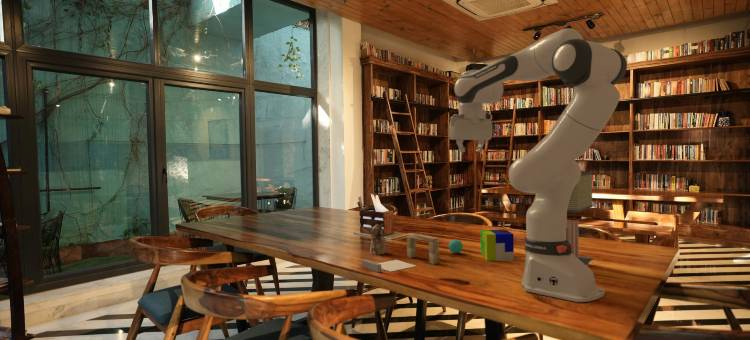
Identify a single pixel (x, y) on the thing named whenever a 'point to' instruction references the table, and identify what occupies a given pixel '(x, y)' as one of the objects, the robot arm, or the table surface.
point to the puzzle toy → (497, 245)
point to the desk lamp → (578, 203)
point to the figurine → (378, 240)
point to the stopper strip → (371, 265)
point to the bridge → (432, 246)
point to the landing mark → (395, 265)
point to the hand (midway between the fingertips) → (470, 152)
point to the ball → (455, 246)
